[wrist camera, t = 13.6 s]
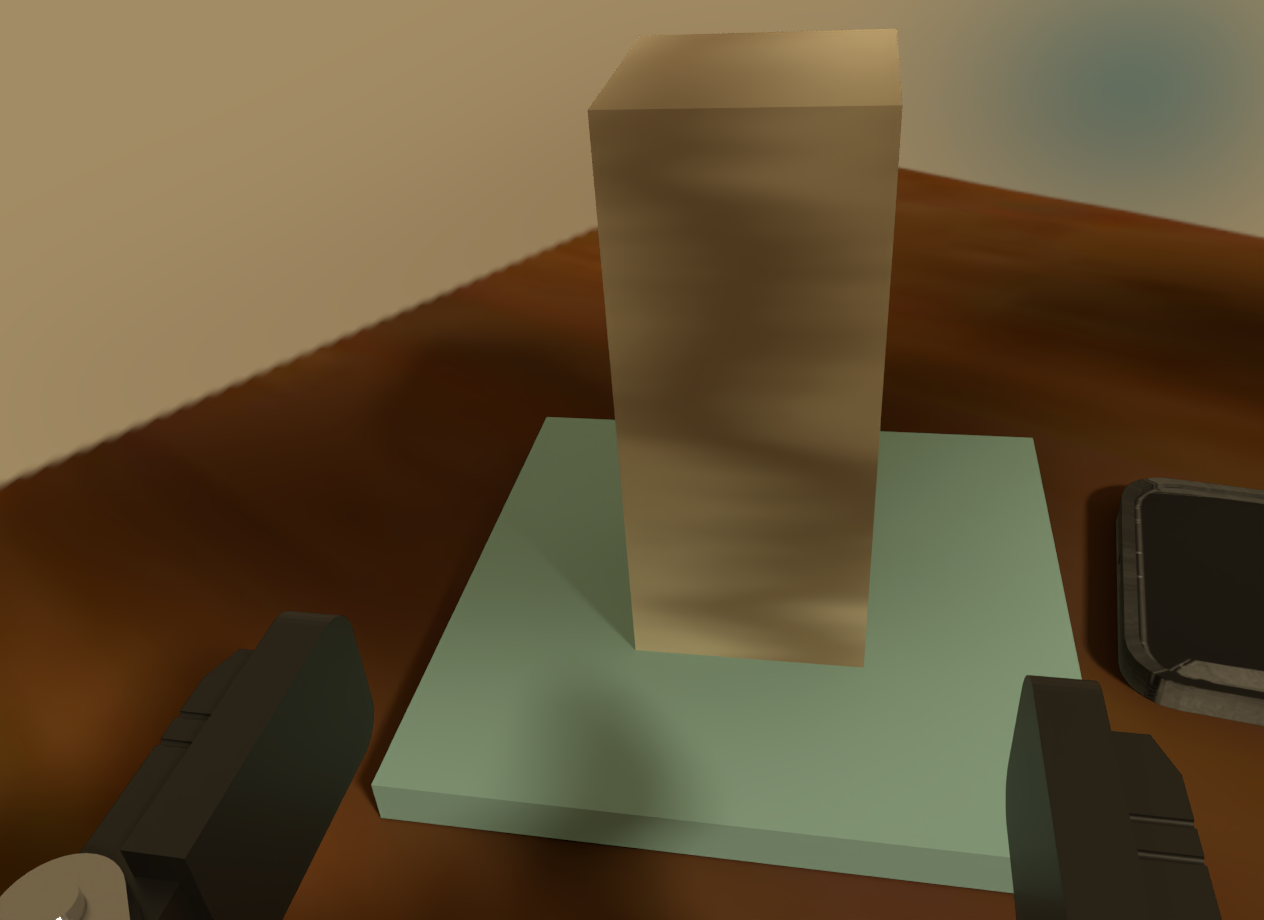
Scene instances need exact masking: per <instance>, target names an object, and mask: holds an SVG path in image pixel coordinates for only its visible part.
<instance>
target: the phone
mask: <svg viewBox="0 0 1264 920" xmlns="http://www.w3.org/2000/svg"><path fill="white" fill-rule="evenodd" d="M1118 523H1119V526H1118ZM1116 548H1117V609H1118V663H1119V667H1120V671H1121V674H1122V676H1123V677H1124V678H1125V680H1126V681H1127V683H1128V684H1129V685H1130V686H1131V687H1132V688H1133V689H1134V690H1136V691H1137V692H1138V693H1139V694H1141V695H1142V696H1143V697H1145V698H1147V699H1149V700H1151V701H1153V702H1155V703H1157V704H1159V705H1162V706H1166V707H1169V708H1173V709H1176V710H1181V711H1186V712H1192V713H1197V714H1202V715H1208V716H1213V717H1219V718H1224V719H1229V720H1235V721H1240V722H1246V723H1251V724H1257V725H1262V726H1264V490H1256V489H1248V488H1241V487H1233V486H1225V485H1217V484H1209V483H1201V482H1194V481H1186V480H1178V479H1170V478H1147V479H1140V480H1138V481H1135V482H1133V483H1130V484H1129V485H1128V486H1127V487H1126V488H1125V489H1124V490H1123V494H1122V497H1121V501H1120V506H1119V510H1118V515H1117V519H1116Z"/></svg>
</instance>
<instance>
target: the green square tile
mask: <svg viewBox="0 0 1264 920" xmlns="http://www.w3.org/2000/svg"><path fill="white" fill-rule="evenodd" d="M1026 675H1034V676H1046V677H1058V678H1070V679H1082V678H1081V673H1080V668H1079V663H1078V659H1077V654H1076V649H1075V644H1074V639H1073V634H1072V629H1071V624H1070V619H1069V614H1068V609H1067V604H1066V599H1065V594H1064V589H1063V584H1062V579H1061V575H1060V570H1059V565H1058V560H1057V555H1056V550H1055V545H1054V540H1053V535H1052V530H1051V525H1050V520H1049V515H1048V510H1047V505H1046V500H1045V495H1044V491H1043V486H1042V481H1041V476H1040V471H1039V466H1038V461H1037V456H1036V451H1035V446H1034V441H1033V438H1024V437H1000V436H977V435H954V434H931V433H908V432H884V431H880V439H879V453H878V468H877V482H876V497H875V511H874V526H873V541H872V555H871V570H870V584H869V599H868V613H867V628H866V642H865V657H864V668H862V667H849V666H836V665H823V664H810V663H797V662H784V661H771V660H758V659H745V658H732V657H720V656H707V655H694V654H681V653H668V652H655V651H642V650H636V649H635V638H634V626H633V615H632V604H631V592H630V581H629V570H628V559H627V547H626V536H625V525H624V514H623V502H622V491H621V480H620V468H619V457H618V446H617V435H616V423H615V420H606V419H583V418H559V417H546V420H545V422H544V424H543V426H542V428H541V430H540V432H539V434H538V436H537V438H536V441H535V443H534V445H533V447H532V449H531V451H530V453H529V455H528V457H527V459H526V461H525V464H524V466H523V468H522V470H521V472H520V474H519V476H518V478H517V480H516V482H515V485H514V487H513V489H512V491H511V493H510V495H509V497H508V499H507V501H506V503H505V506H504V508H503V510H502V512H501V514H500V516H499V518H498V520H497V522H496V524H495V527H494V529H493V531H492V533H491V535H490V537H489V539H488V541H487V543H486V545H485V547H484V550H483V552H482V554H481V556H480V558H479V560H478V562H477V564H476V566H475V568H474V571H473V573H472V575H471V577H470V579H469V581H468V583H467V585H466V587H465V589H464V592H463V594H462V596H461V598H460V600H459V602H458V604H457V606H456V608H455V610H454V612H453V615H452V617H451V619H450V621H449V623H448V625H447V627H446V629H445V631H444V633H443V636H442V638H441V640H440V642H439V644H438V646H437V648H436V650H435V652H434V654H433V657H432V659H431V661H430V663H429V665H428V667H427V669H426V671H425V673H424V675H423V677H422V680H421V682H420V684H419V686H418V688H417V690H416V692H415V694H414V696H413V698H412V701H411V703H410V705H409V707H408V709H407V711H406V713H405V715H404V717H403V719H402V722H401V724H400V726H399V728H398V730H397V732H396V734H395V736H394V738H393V740H392V742H391V745H390V747H389V749H388V751H387V753H386V755H385V757H384V759H383V761H382V763H381V766H380V768H379V770H378V772H377V774H376V776H375V778H374V780H373V782H372V784H371V786H372V789H373V793H374V796H375V799H376V803H377V806H378V809H379V813H380V816H381V818H388V819H396V820H405V821H413V822H422V823H430V824H438V825H447V826H455V827H463V828H472V829H480V830H489V831H497V832H505V833H514V834H522V835H530V836H539V837H547V838H556V839H564V840H572V841H581V842H589V843H597V844H606V845H614V846H623V847H631V848H639V849H648V850H656V851H665V852H673V853H681V854H690V855H698V856H706V857H715V858H723V859H732V860H740V861H748V862H757V863H765V864H773V865H782V866H790V867H799V868H807V869H815V870H824V871H832V872H840V873H849V874H857V875H866V876H874V877H882V878H891V879H899V880H908V881H916V882H924V883H933V884H941V885H949V886H958V887H966V888H975V889H983V890H991V891H1000V892H1008V893H1014V891H1013V881H1012V872H1011V863H1010V853H1009V844H1008V834H1007V825H1006V777H1007V768H1008V762H1009V756H1010V751H1011V745H1012V740H1013V734H1014V728H1015V723H1016V717H1017V712H1018V706H1019V701H1020V695H1021V690H1022V685H1023V681H1024V678H1025V676H1026Z"/></svg>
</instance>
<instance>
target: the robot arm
mask: <svg viewBox="0 0 1264 920" xmlns="http://www.w3.org/2000/svg"><path fill="white" fill-rule="evenodd" d="M373 721H374V708H373V701H372V697H371V693H370V690H369V686H368V682H367V679H366V675H365V672H364V668H363V664H362V661H361V657H360V654H359V650H358V646H357V643H356V639H355V636H354V632H353V629H352V626H351V623H350V622H349V620H348V619H347V618H346V617H345V616H342V615H330V614H318V613H306V612H294V611H286V612H283V613H281V614H280V615H279V616H278V617H277V618H276V619H275V620H274V622H273V623H272V625H271V626H270V628H269V629H268V631H267V632H266V634H265V635H264V637H263V638H262V640H261V641H260V642H259V644H258V645H257V647H256V648H255V650H247V649H239V650H238V651H237V652H235V653H234V654H233V655H231V656H230V657H229V658H228V659H226V660H225V661H224V662H223V663H221V664H220V665H219V666H217V667H216V668H215V669H214V670H212V671H211V672H210V673H209V674H207V675H206V676H205V677H204V678H203V679H202V680H201V682H200V683H199V685H198V686H197V688H196V689H195V690H194V692H193V693H192V695H191V696H190V698H189V699H188V700H187V702H186V703H185V705H184V706H183V707H182V709H181V710H180V717H179V718H176V717H175V719H174V720H173V722H172V723H171V724H170V726H169V727H168V729H167V730H166V732H165V733H164V734H163V736H162V737H161V743H160V745H156V746H155V747H154V749H153V750H152V751H151V753H150V754H149V756H148V757H147V758H146V760H145V761H144V763H143V764H142V766H141V767H140V768H139V770H138V771H137V773H136V774H135V775H134V777H133V778H132V780H131V781H130V783H129V784H128V785H127V787H126V788H125V790H124V791H123V792H122V794H121V795H120V797H119V798H118V800H117V801H116V802H115V804H114V805H113V807H112V808H111V810H110V811H109V812H108V814H107V815H106V817H105V818H104V819H103V821H102V822H101V824H100V825H99V827H98V828H97V829H96V831H95V832H94V834H93V835H92V836H91V838H90V839H89V841H88V842H87V844H86V845H85V846H84V847H83V849H82V850H81V851H80V852H79V854H72V855H67V856H63V857H60V858H57V859H54V860H51V861H49V862H47V863H44V864H42V865H40V866H38V867H37V868H35V869H33V870H31V871H30V872H28V873H27V874H25V875H24V876H23V877H21V878H20V879H18V880H17V881H16V882H15V883H14V884H13V885H11V886H10V887H9V888H8V889H7V890H6V891H5V892H4V893H3V894H2V896H1V897H0V920H282V919H283V917H284V915H285V913H286V911H287V909H288V907H289V905H290V903H291V901H292V899H293V897H294V895H295V893H296V891H297V889H298V887H299V885H300V883H301V881H302V879H303V877H304V875H305V873H306V871H307V869H308V867H309V865H310V863H311V861H312V859H313V857H314V855H315V853H316V851H317V849H318V847H319V845H320V843H321V841H322V839H323V837H324V835H325V833H326V831H327V829H328V827H329V825H330V823H331V821H332V819H333V817H334V815H335V813H336V811H337V809H338V807H339V805H340V803H341V801H342V799H343V797H344V795H345V793H346V791H347V789H348V787H349V785H350V783H351V781H352V779H353V777H354V775H355V773H356V771H357V769H358V767H359V765H360V763H361V761H362V759H363V757H364V755H365V753H366V751H367V748H368V746H369V743H370V739H371V735H372V730H373ZM1006 825H1007V834H1008V844H1009V853H1010V863H1011V872H1012V881H1013V891H1014V900H1015V909H1016V919H1017V920H1222V919H1221V915H1220V911H1219V908H1218V904H1217V900H1216V897H1215V893H1214V890H1213V886H1212V882H1211V879H1210V875H1209V872H1208V868H1207V866H1205V865H1204V853H1203V850H1202V846H1201V843H1200V839H1199V835H1198V832H1197V829H1195V828H1194V817H1193V814H1192V810H1191V806H1190V803H1189V799H1188V795H1187V792H1186V788H1185V785H1184V781H1183V777H1182V775H1181V774H1180V772H1179V771H1178V770H1177V768H1176V767H1175V766H1174V765H1173V763H1172V762H1171V761H1170V759H1169V758H1168V757H1167V756H1166V754H1165V753H1164V752H1163V751H1162V749H1161V748H1160V747H1159V745H1158V744H1157V743H1156V742H1155V740H1154V739H1153V738H1152V736H1151V735H1148V734H1137V733H1126V732H1115V731H1111V729H1110V724H1109V720H1108V715H1107V710H1106V706H1105V701H1104V697H1103V693H1102V689H1101V686H1100V684H1099V683H1098V682H1097V681H1094V680H1082V679H1070V678H1058V677H1046V676H1034V675H1026V676H1025V678H1024V681H1023V685H1022V690H1021V695H1020V701H1019V706H1018V712H1017V717H1016V723H1015V728H1014V734H1013V740H1012V745H1011V751H1010V756H1009V762H1008V768H1007V777H1006Z"/></svg>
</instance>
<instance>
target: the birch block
mask: <svg viewBox="0 0 1264 920" xmlns="http://www.w3.org/2000/svg"><path fill="white" fill-rule="evenodd" d="M901 118H902V93H901V81H900V67H899V55H898V40H897V29H871V30H835V31H800V32H766V33H728V34H693V35H658V36H640V37H639V39H638V40H637V42H636V43H635V44H634V45H633V47H632V48H631V50H630V51H629V53H628V54H627V56H626V57H625V58H624V60H623V61H622V63H621V64H620V65H619V67H618V68H617V69H616V71H615V72H614V74H613V75H612V77H611V78H610V79H609V81H608V82H607V84H606V85H605V86H604V88H603V89H602V91H601V92H600V93H599V95H598V96H597V98H596V99H595V101H594V102H593V103H592V105H591V106H590V108H589V109H588V119H589V130H590V141H591V153H592V164H593V175H594V186H595V198H596V207H597V208H596V209H597V220H598V232H599V243H600V254H601V265H602V277H603V288H604V299H605V311H606V322H607V333H608V344H609V356H610V367H611V378H612V389H613V401H614V412H615V423H616V435H617V446H618V457H619V468H620V480H621V491H622V502H623V514H624V525H625V536H626V547H627V559H628V570H629V581H630V592H631V604H632V615H633V626H634V638H635V649H636V650H642V651H655V652H668V653H681V654H694V655H707V656H720V657H732V658H745V659H758V660H771V661H784V662H797V663H810V664H823V665H836V666H849V667H862V668H864V657H865V642H866V628H867V613H868V599H869V584H870V570H871V555H872V541H873V526H874V511H875V497H876V482H877V468H878V453H879V439H880V424H881V410H882V395H883V381H884V366H885V351H886V337H887V322H888V308H889V293H890V279H891V264H892V250H893V235H894V221H895V206H896V191H897V177H898V162H899V148H900V133H901Z"/></svg>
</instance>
